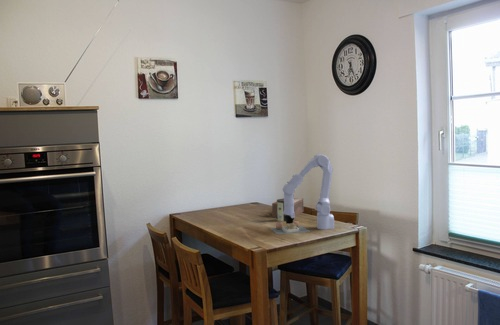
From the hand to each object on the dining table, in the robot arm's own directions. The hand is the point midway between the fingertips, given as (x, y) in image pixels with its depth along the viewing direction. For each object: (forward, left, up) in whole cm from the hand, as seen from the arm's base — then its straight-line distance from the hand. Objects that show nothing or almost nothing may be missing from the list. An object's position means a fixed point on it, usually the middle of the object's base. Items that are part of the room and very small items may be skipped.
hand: (289, 228), depth 226 cm
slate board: (0, +1, -2) cm, 2 cm away
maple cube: (0, +3, -1) cm, 4 cm away
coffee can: (-6, -27, -2) cm, 28 cm away
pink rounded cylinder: (-5, -4, -1) cm, 6 cm away
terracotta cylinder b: (+5, -4, -1) cm, 6 cm away
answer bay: (0, +2, -1) cm, 2 cm away
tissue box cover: (-15, -48, -2) cm, 50 cm away
